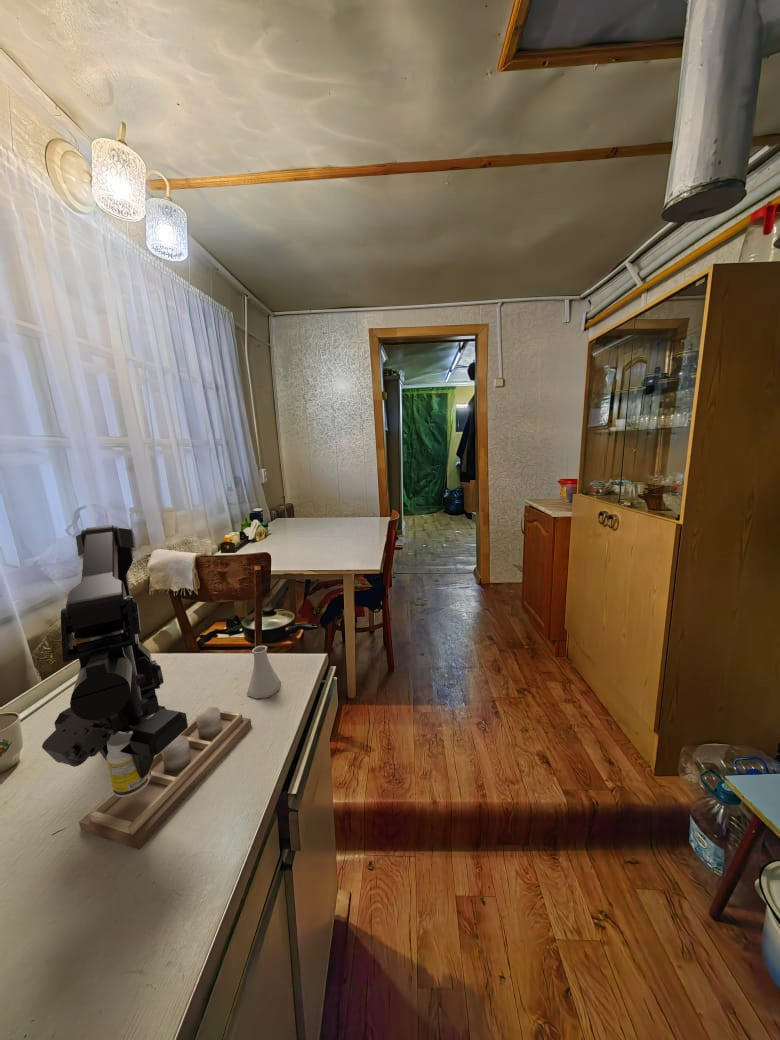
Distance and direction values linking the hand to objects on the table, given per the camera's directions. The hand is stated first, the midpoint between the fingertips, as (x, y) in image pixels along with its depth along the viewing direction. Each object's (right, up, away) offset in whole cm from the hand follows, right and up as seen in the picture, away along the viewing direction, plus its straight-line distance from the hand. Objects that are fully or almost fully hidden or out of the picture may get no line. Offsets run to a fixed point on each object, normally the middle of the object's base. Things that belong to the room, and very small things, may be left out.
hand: (131, 772), depth 56 cm
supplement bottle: (0, -2, 0) cm, 2 cm away
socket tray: (+3, -5, +8) cm, 10 cm away
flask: (+10, -1, +30) cm, 31 cm away
